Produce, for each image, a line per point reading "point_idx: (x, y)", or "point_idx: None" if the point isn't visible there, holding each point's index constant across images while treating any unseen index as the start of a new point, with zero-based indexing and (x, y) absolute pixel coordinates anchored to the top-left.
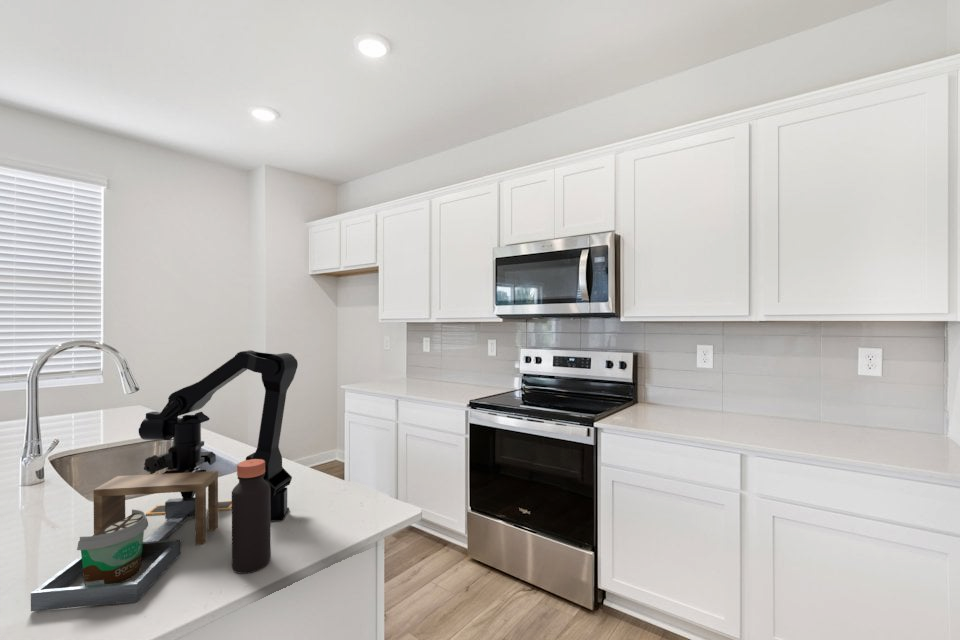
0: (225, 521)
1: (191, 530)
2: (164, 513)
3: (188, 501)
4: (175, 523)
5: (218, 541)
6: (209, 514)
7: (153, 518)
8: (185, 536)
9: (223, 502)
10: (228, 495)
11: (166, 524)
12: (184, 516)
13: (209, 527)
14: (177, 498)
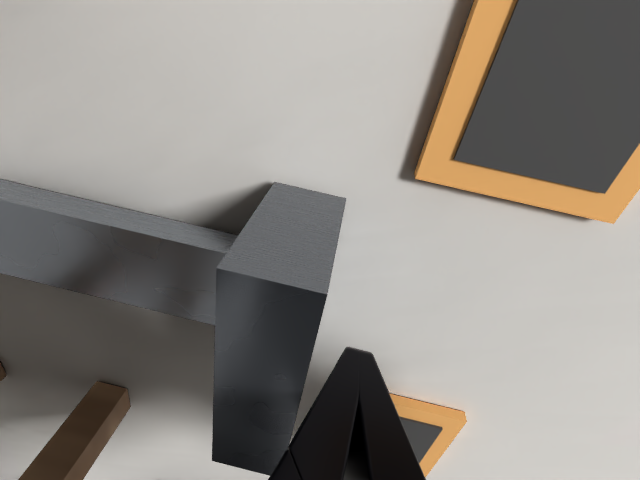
0: (189, 425)
1: (102, 329)
2: (426, 144)
3: (216, 417)
4: (92, 286)
5: (13, 402)
6: (32, 466)
7: (362, 59)
8: (37, 312)
9: (422, 445)
10: (576, 457)
11: (71, 241)
12: (199, 319)
13: (88, 397)
14: (310, 359)
